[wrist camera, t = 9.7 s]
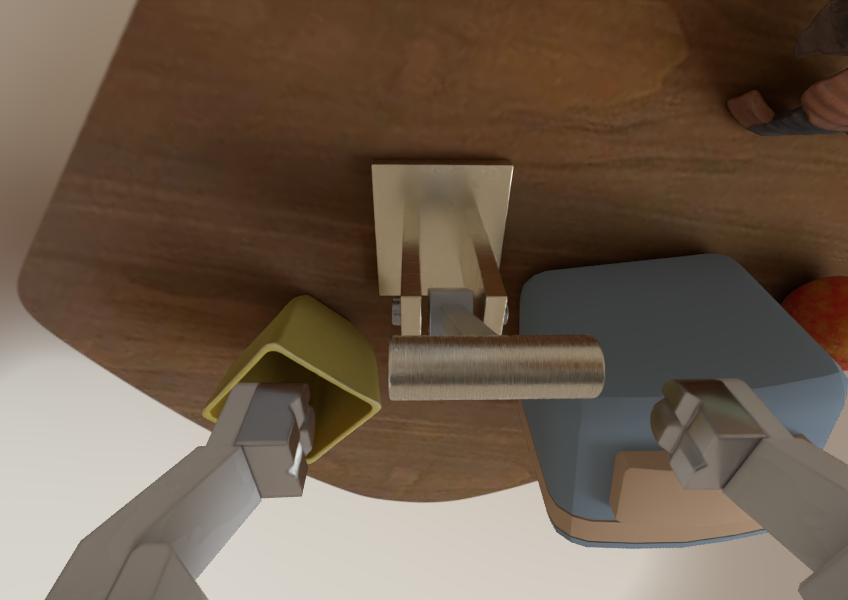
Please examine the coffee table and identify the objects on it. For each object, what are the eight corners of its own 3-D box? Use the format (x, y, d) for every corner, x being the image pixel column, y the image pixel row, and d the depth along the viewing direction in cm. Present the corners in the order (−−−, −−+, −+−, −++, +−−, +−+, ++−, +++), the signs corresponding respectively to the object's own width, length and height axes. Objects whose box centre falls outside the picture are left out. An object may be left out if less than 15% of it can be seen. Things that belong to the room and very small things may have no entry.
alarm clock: (512, 407, 42) (558, 590, 29) (514, 264, 32) (583, 440, 19) (682, 390, 41) (808, 571, 28) (733, 240, 32) (959, 406, 19)
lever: (387, 323, 9) (388, 427, 10) (608, 322, 10) (604, 425, 10) (402, 287, 24) (402, 330, 24) (491, 287, 24) (491, 330, 24)
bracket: (372, 158, 28) (351, 242, 18) (510, 159, 28) (562, 242, 18) (379, 287, 33) (366, 403, 24) (493, 286, 34) (527, 401, 24)
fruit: (828, 243, 32) (936, 304, 25) (862, 291, 35) (968, 358, 28) (740, 301, 35) (816, 370, 28) (777, 342, 38) (855, 413, 31)
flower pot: (390, 324, 35) (384, 409, 28) (328, 380, 39) (308, 467, 32) (301, 263, 32) (268, 341, 24) (241, 329, 35) (197, 415, 28)
